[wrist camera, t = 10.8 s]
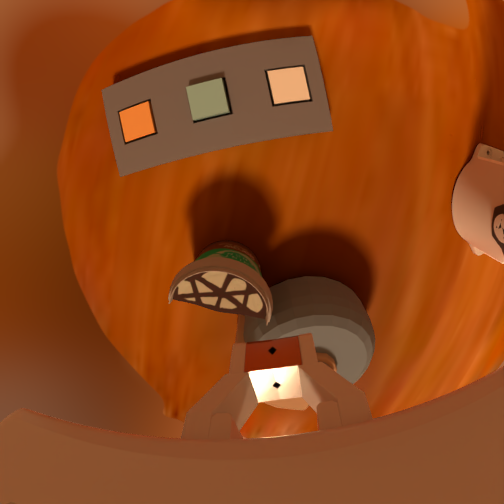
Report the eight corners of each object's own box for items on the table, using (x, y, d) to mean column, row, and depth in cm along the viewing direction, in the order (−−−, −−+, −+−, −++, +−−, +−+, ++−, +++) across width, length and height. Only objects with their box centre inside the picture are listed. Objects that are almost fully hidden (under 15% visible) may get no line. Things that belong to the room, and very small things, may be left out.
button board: (308, 43, 27) (312, 35, 24) (327, 131, 32) (333, 130, 29) (112, 92, 30) (101, 89, 27) (130, 173, 34) (120, 176, 32)
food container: (281, 243, 38) (287, 280, 29) (269, 282, 40) (271, 326, 31) (190, 223, 37) (168, 253, 28) (184, 263, 39) (164, 302, 30)
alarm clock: (213, 312, 43) (199, 369, 32) (329, 245, 38) (354, 291, 27) (278, 380, 49) (281, 433, 38) (377, 331, 44) (400, 382, 33)
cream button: (300, 70, 28) (302, 66, 26) (307, 100, 29) (309, 99, 27) (267, 74, 28) (267, 71, 26) (273, 105, 30) (274, 103, 28)
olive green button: (223, 81, 28) (221, 77, 26) (230, 112, 29) (228, 111, 27) (190, 89, 28) (185, 87, 26) (196, 120, 30) (192, 120, 28)
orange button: (153, 102, 29) (148, 101, 28) (160, 132, 31) (154, 132, 29) (125, 112, 30) (119, 112, 28) (132, 141, 31) (125, 142, 30)
